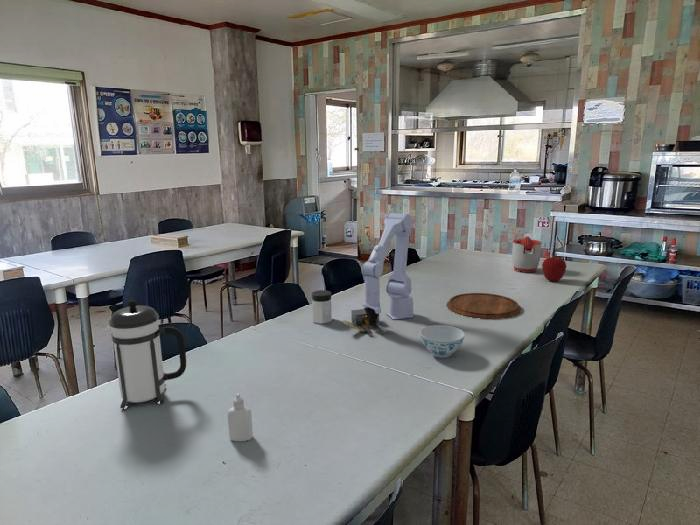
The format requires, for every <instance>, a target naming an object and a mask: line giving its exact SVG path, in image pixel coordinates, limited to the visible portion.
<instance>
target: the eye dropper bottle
mask: <svg viewBox="0 0 700 525" xmlns="http://www.w3.org/2000/svg"><path fill="white" fill-rule="evenodd" d="M227 423H228V425H227V426H228V436H229V438H228V439H229V440H230V441H233V440H234V441H233V442H248V441H251V440H252V438H253V436H254V434H253V420H252V410H251V409H250V408H249V407H247V406H245V402H244V397H241V396H240V393H236V396H235V398H233V406H232V407H231V408H229V410H228V411H227ZM247 440H248V441H247Z"/></svg>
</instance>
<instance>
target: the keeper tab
mask: <svg viewBox="0 0 700 525" xmlns="http://www.w3.org/2000/svg"><path fill="white" fill-rule="evenodd" d="M342 322H343V324H345V325H346V326H348V327H350V328H353V329H356V330H358V331H359V332H362V333H363V334H365V333H366V330H365V329H364V328H363V327H360V326H357V325H355V324H353V323H352V322H350V321H348V320H345V319H343V320H342ZM366 334H367V333H366Z"/></svg>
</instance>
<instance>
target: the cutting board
mask: <svg viewBox="0 0 700 525" xmlns="http://www.w3.org/2000/svg"><path fill="white" fill-rule="evenodd" d="M447 307H448V308H447ZM446 308H447V309H448V310H449V311H450V310H451V311H450V312H452V313H453V312H454V314H456V313H457V314H456V315H458V314H459V315H458V316H461V315H463V316H462V317H465V316H466V317H465V318H470V317H472V318H471V319H476V318H480V319H479V320H490V319H492V320H502V319H501V318H506V319H509V317H511V318H513V317H512V316H514V317H516V316H518V315H519V314H520V313H521V312H520V311H522V308H521V306H520V304H519V303H518V302H517V301H516V300H514V299H512V298H510V297H508V296H505V295H500V294H495V293H487V292H486V293H484V292H469V293H461V294H460V293H459V294H457V295H454V296H452V297H450V299H449V300H448V301H447V303H446ZM517 314H518V315H517ZM515 315H516V316H515Z"/></svg>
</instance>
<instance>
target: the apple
mask: <svg viewBox="0 0 700 525" xmlns="http://www.w3.org/2000/svg"><path fill="white" fill-rule="evenodd" d="M541 269H542V270H541V271H542V273H543V277H545V279H546V280H547V281H548V280H549V281H548V282H550V281H556V282H559V281H560V280H561V279H563V276H564V275H565V273H566V270H567V264H566V261H565V260H564V259H563V258H561V257H556V256H553V257H547V258H546V259H544V260H543V262H542V264H541Z"/></svg>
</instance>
